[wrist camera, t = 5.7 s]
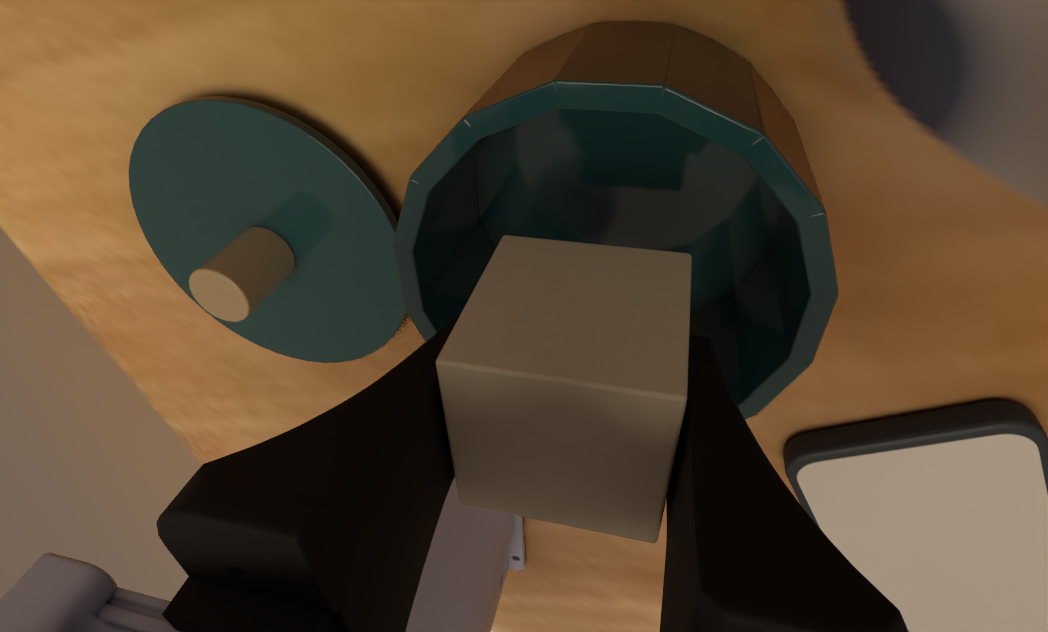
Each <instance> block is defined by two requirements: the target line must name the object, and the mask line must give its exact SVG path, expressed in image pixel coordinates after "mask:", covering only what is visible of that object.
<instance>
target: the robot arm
mask: <svg viewBox="0 0 1048 632" xmlns="http://www.w3.org/2000/svg"><path fill="white" fill-rule="evenodd" d="M462 311H463V310H462ZM462 311H461V312H460V313H458V314H457V315H456V316H455V317H454V318H453V319H452V320H450V321H449V322H448V323H447V324H446V325H445V326H444V327H443V328H441V329H440V330H439V331H438V332H437V333H436V334H435V335H433V336H432V337H431V338H430V339H429V340H428V341H427V342H425V343H424V344H423V345H422V346H421V347H419V348H418V349H417V350H416V351H415V352H413V353H412V354H411V355H410V356H409V357H407V358H406V359H405V360H404V361H402V362H401V363H400V364H398V365H397V366H396V367H394V368H393V369H392V370H390V371H389V372H388V373H386V374H385V375H384V376H382V377H381V378H380V379H378V380H377V381H376V382H374V383H373V384H371V385H370V386H368V387H367V388H365V389H364V390H362V391H361V392H359V393H357V394H356V395H354V396H353V397H351V398H349V399H348V400H346V401H344V402H343V403H341V404H339V405H338V406H336V407H334V408H332V409H330V410H328V411H326V412H325V413H323V414H321V415H319V416H317V417H315V418H313V419H311V420H310V421H308V422H306V423H304V424H302V425H300V426H298V427H296V428H293V429H291V430H289V431H287V432H285V433H283V434H280V435H278V436H276V437H273V438H271V439H269V440H267V441H264V442H262V443H259V444H257V445H254V446H252V447H249V448H247V449H244V450H241V451H239V452H236V453H233V454H230V455H228V456H225V457H222V458H219V459H217V460H214V461H211V462H208V463H205V464H203V465H202V466H201V468H200V469H199V470H198V471H197V472H196V473H195V474H194V476H193V477H192V478H191V479H190V480H189V482H188V483H187V484H186V485H185V486H184V487H183V489H182V490H181V491H180V492H179V494H178V495H177V496H176V497H175V498H174V500H173V501H172V502H171V503H170V504H169V506H168V507H167V508H166V509H165V511H164V512H163V513H162V514H161V515H160V517H159V519H158V521H157V528H158V534H159V536H160V538H161V540H162V541H163V543H164V545H165V546H166V547H167V549H168V550H169V551H170V553H171V554H172V555H173V556H174V558H175V559H176V560H177V562H178V563H179V564H180V565H181V567H182V568H183V569H184V570H185V572H186V573H187V574H188V576H189V577H188V579H187V580H186V581H185V583H184V584H183V585H182V587H181V588H180V590H179V591H178V592H177V594H176V595H175V597H174V598H173V599H172V601H171V602H170V601H167V600H163V599H159V598H155V597H152V596H148V595H144V594H141V593H137V592H134V591H130V590H126V589H122V588H119V587H117V584H116V583H115V581H114V580H113V578H111V576H110V575H109V574H108V573H106V572H105V571H104V570H102V569H101V568H99V567H97V566H95V565H93V564H90V563H87V562H84V561H80V560H76V559H72V558H68V557H65V556H61V555H57V554H53V553H45V554H43V555H42V556H41V557H40V558H39V560H38V561H37V562H36V563H35V564H34V565H33V566H32V567H31V568H30V569H29V570H28V571H27V572H26V573H25V574H24V575H23V576H22V578H20V580H19V581H18V582H17V583H16V584H15V585H14V586H13V587H12V588H11V589H10V590H9V591H8V592H7V593H6V594H5V595H4V596H3V597H2V598H1V600H0V632H490V631H491V628H492V624H493V621H494V617H495V613H496V610H497V606H498V603H499V599H500V595H501V592H502V588H503V585H504V581H505V577H506V574H507V570H508V569H512V570H516V571H522V570H524V568H525V564H526V562H525V544H524V525H523V516H518V515H513V514H508V513H503V512H499V511H494V510H489V509H484V508H479V507H474V506H469V505H464V504H461V503H460V502H459V497H458V491H457V485H456V479H455V474H454V468H453V462H452V456H451V450H450V444H449V438H448V433H447V427H446V421H445V415H444V409H443V403H442V397H441V392H440V386H439V380H438V374H437V368H436V360H437V358H438V356H439V354H440V352H441V350H442V348H443V346H444V345H445V343H446V341H447V339H448V337H449V335H450V333H451V332H452V330H453V328H454V326H455V324H456V322H457V320H458V319H459V317H460V315H461V313H462ZM666 504H667V546H666V559H665V572H664V586H663V598H662V610H661V623H660V632H909V631H908V629H907V626H906V624H905V622H904V619H903V617H902V615H901V612H900V610H899V609H898V608H897V607H896V606H895V605H894V604H893V603H891V602H890V601H889V600H888V599H887V598H886V597H885V596H884V595H883V594H882V593H881V592H880V591H879V590H878V589H877V588H876V587H875V586H874V585H873V584H872V583H871V582H870V581H869V580H868V579H867V578H865V577H864V576H863V575H862V574H861V573H860V572H859V571H858V570H857V569H856V568H855V567H854V566H853V565H852V564H851V563H850V562H849V560H848V559H847V558H846V557H845V556H844V555H843V554H842V553H841V552H840V551H839V550H838V548H837V547H836V546H835V545H834V544H833V543H832V542H831V541H830V540H829V539H828V537H827V536H826V535H825V534H824V532H823V531H822V530H821V529H820V528H819V526H818V525H817V524H816V523H815V522H814V520H813V519H812V518H811V517H810V516H809V514H808V513H807V512H806V511H805V510H804V508H803V507H802V506H801V505H800V504H799V502H798V501H797V500H796V498H795V497H794V496H793V494H792V493H791V492H790V490H789V489H788V487H787V486H786V485H785V483H784V482H783V481H782V479H781V478H780V476H779V475H778V473H777V472H776V470H775V469H774V468H773V466H772V465H771V463H770V462H769V460H768V458H767V457H766V455H765V454H764V452H763V451H762V449H761V447H760V446H759V444H758V442H757V441H756V439H755V437H754V435H753V433H752V432H751V430H750V428H749V426H748V425H747V423H746V421H745V419H744V417H743V415H742V413H741V411H740V409H739V407H738V405H737V403H736V401H735V399H734V397H733V395H732V393H731V391H730V388H729V386H728V384H727V381H726V379H725V377H724V374H723V372H722V369H721V366H720V364H719V361H718V358H717V355H716V352H715V349H714V345H713V342H712V341H711V339H710V338H709V337H703V336H695V335H689V356H688V386H687V402H686V407H685V412H684V417H683V421H682V426H681V431H680V436H679V440H678V445H677V450H676V455H675V459H674V464H673V469H672V474H671V478H670V483H669V488H668V493H667V497H666Z"/></svg>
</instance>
